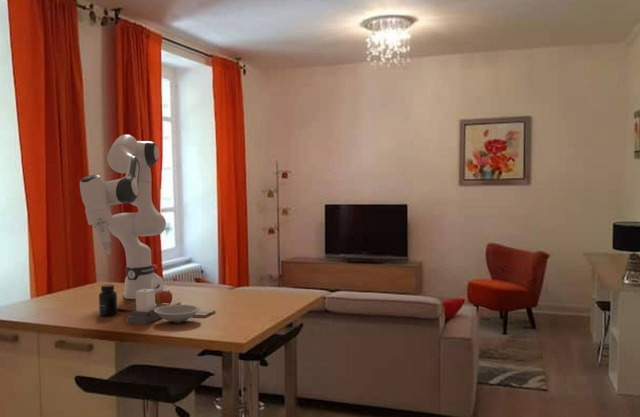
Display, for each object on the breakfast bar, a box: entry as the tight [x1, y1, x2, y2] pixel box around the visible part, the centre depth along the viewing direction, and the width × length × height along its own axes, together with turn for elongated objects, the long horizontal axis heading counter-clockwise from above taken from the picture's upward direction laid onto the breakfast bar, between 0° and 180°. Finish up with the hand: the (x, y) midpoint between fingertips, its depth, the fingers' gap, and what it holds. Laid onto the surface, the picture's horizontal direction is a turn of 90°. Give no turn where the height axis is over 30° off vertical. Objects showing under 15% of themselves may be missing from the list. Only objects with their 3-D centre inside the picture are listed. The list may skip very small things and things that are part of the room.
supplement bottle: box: [98, 284, 118, 318], centre depth 219 cm, size 7×7×12 cm
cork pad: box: [191, 308, 216, 319], centre depth 216 cm, size 8×8×1 cm
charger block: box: [135, 289, 156, 312], centre depth 210 cm, size 5×5×9 cm
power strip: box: [127, 303, 171, 325], centre depth 217 cm, size 26×8×4 cm, turn 162°
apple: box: [155, 287, 173, 306], centre depth 229 cm, size 7×7×8 cm
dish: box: [154, 304, 201, 324], centre depth 205 cm, size 18×14×5 cm
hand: (108, 252), depth 210 cm, fingers open, 8 cm apart
